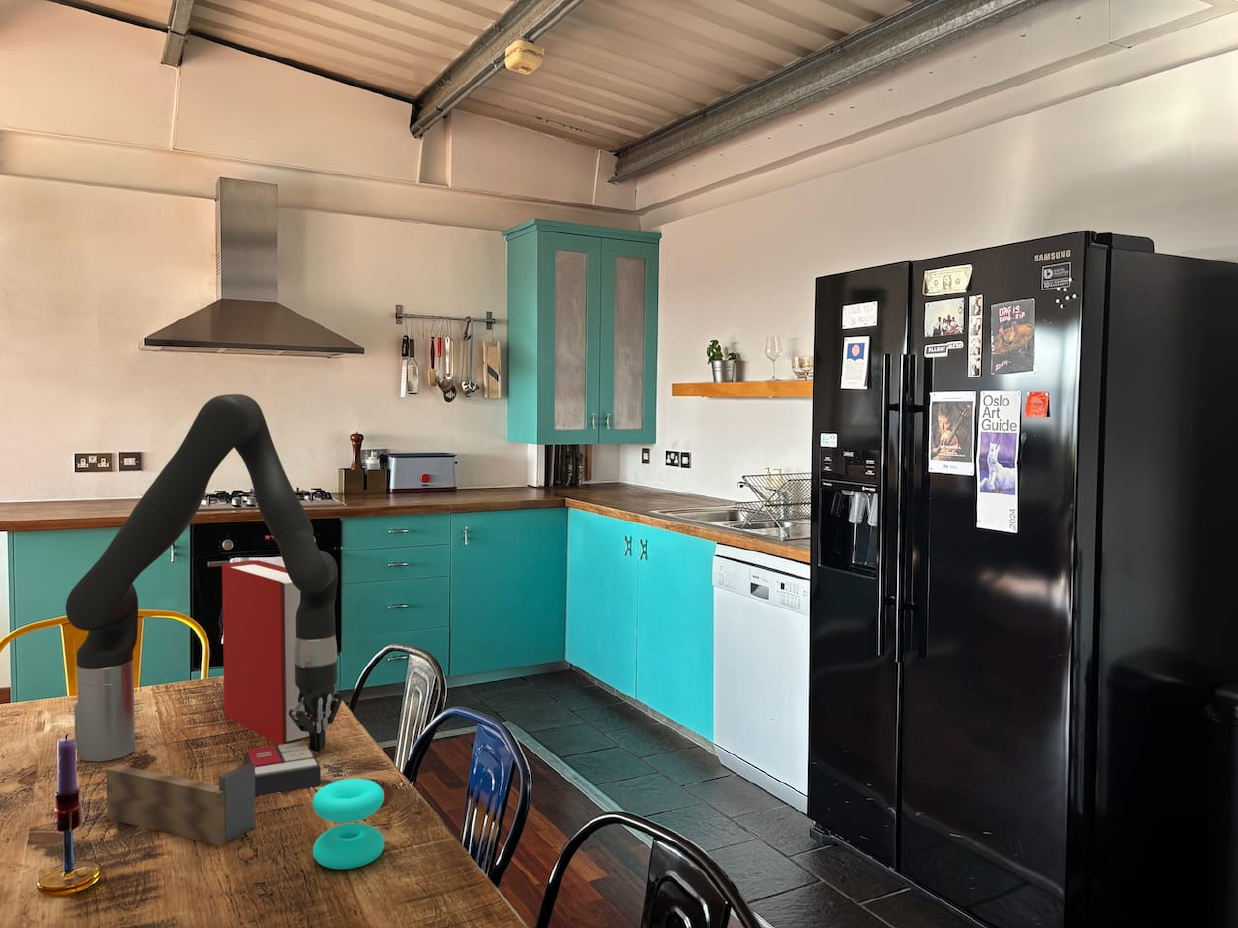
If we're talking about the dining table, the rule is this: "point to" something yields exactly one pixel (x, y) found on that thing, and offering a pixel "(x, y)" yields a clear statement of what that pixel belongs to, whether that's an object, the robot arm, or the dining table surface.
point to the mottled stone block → (166, 804)
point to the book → (260, 648)
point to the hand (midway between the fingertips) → (317, 750)
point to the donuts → (349, 840)
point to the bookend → (239, 800)
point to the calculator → (283, 768)
